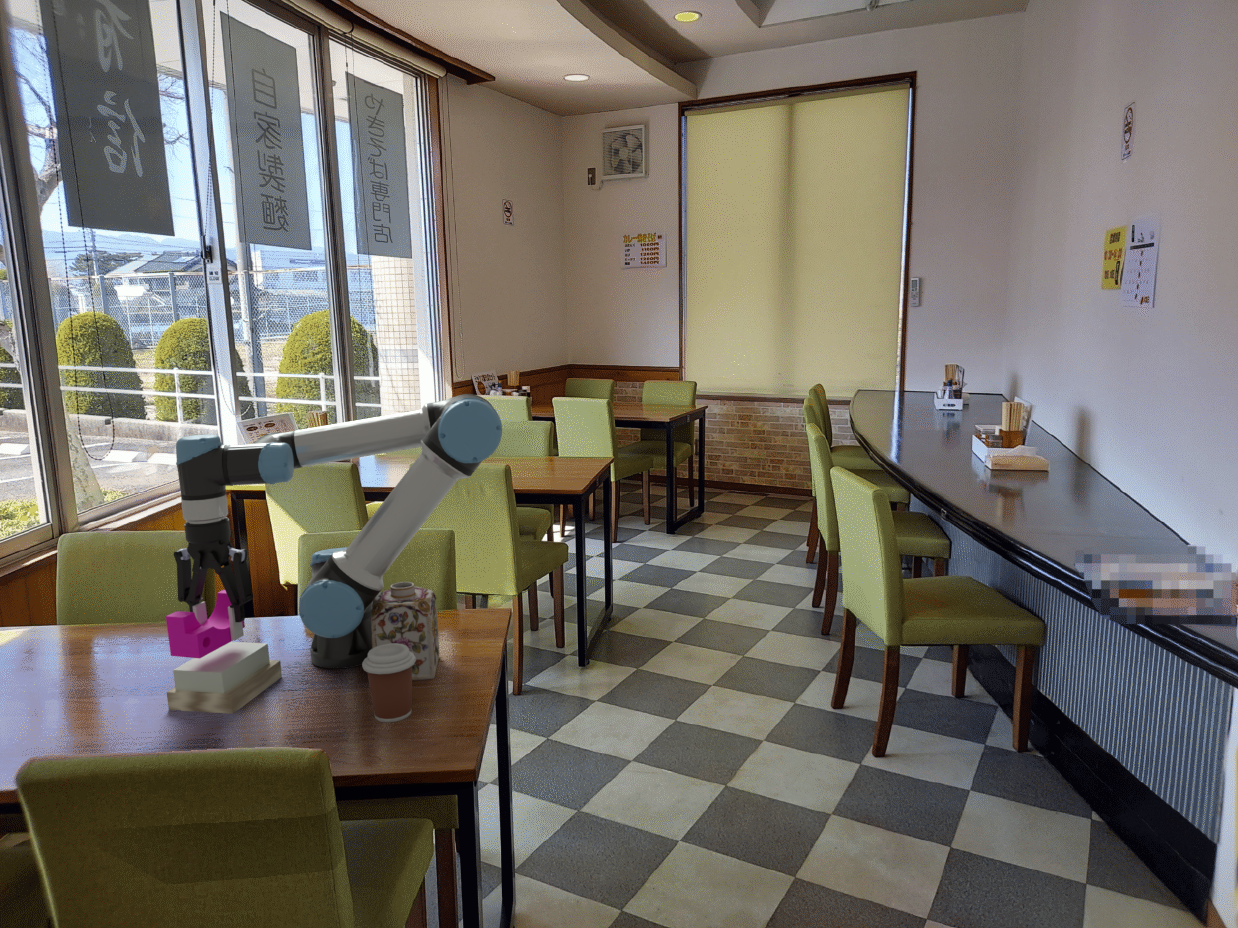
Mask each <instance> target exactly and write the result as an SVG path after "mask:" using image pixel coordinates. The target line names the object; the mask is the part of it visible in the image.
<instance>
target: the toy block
mask: <svg viewBox="0 0 1238 928" xmlns="http://www.w3.org/2000/svg"><path fill="white" fill-rule="evenodd" d="M230 605H232V604H231V602H230V600H229V598H228V595H227V593H226V591H225V589H222V590H220V591H219V592H217V593H216V602H215V606H214V608H213V611H212V613H211V615H210V616H209V618H207V621H206V622H205V623H203V624H202V625H201V624H200V623H199V622H198V621H197V619H196V616H195V613H194V612H190V611H180V610H177V611H174V612H172V613H170V614H168V615H166V616H165V621H166V622H165V623H166V629H167V636H168V644H169V652H170V656H171V657H181V658H191V659H193V658H202V657H204V656H205V655H207V654H209V653H211V652H213V651H215V650H216V649H218V648H220V647H222V646H224V645H226V644H227V643H229V642H232V641H231V632H230V623H229V614H228V607H229V606H230ZM242 624H243V629H245V628H246V625H245V620H243V621H242Z"/></svg>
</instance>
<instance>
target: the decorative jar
mask: <svg viewBox="0 0 1238 928" xmlns="http://www.w3.org/2000/svg"><path fill="white" fill-rule="evenodd" d="M437 598H438V597H436V594H435V592H434V591H433V590H431V589H429V588H426V587H422V586H415V584H414V582H411V581H399V582H396V583H392V584H390V587H389V589H385V590H381V591H380V593H379V594H378V595H377V596H376V598H375V599H374V600H373V605H372V611H371V618H370V620H371V628H372V647H373V648H374V647H377V646H380V645H384V644H391V643H398V644H403V645H406V646H407V647H408V648H409V651H410V652H412V653H413V654H414V655H415V657H416V661H415V663H414V665H412V681H424V680H434V679H435V677H436V672H437V667H438V663H439V658H440V641H439V637H440V636H439V623H438V622H439V621H438V620H439V619H438V610H437V607H438V606H437Z"/></svg>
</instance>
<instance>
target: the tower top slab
mask: <svg viewBox="0 0 1238 928" xmlns="http://www.w3.org/2000/svg"><path fill="white" fill-rule="evenodd" d="M269 653H270V650H269V643H264V642H263V643H262V642H261V643H260V642H245V641H243V642H241V641H231V642H229V643H227V644H226V645H224V646H222V647H220V648H218V649H216V650H215V651H213V652H211V653H209V654H207V655H205V656H204V657H202V658H191V659H189V660H188V661H185V662H184V663H183V664H180V665H179V666H178V667H176V668H174V669H173V670H172V672H173V678H174V687H175V689H176V690H177V691H192V692H207V693H223V694H224V693H226V692H227V691H229V690H230V689H232V688H233V687H235V686H236V685H238V684H239V683H241V682H242V681H243V680H245V679H246V678H248V677H249V676H251V675H252V674H254V673H255V672H257V671H258V670H260V669H261V668H263V667H264V666H266V665H267V664H269V663H270V660H271V659H270V654H269Z"/></svg>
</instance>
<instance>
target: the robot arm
mask: <svg viewBox="0 0 1238 928" xmlns="http://www.w3.org/2000/svg"><path fill="white" fill-rule="evenodd" d="M502 435H503V424H502V420H501V417H500V415H499V413H498V412H497V410H496V409H495V407H494V406H493V405H492V403H490V402H489V400H487V399H486V398H484V397H482V396H479V395H477V394H473V393H472V394H471V393H463V394H460V395H456V396H453V397H450V398H447V399H443V400H439V401H435V402H434V401H433V402H429V403H425V404H424V405H423V407H422V408H420V409H418V410H412V411H405V412H399V413H393V414H387V415H381V416H375V417H370V418H369V417H368V418H363V419H358V420H352V421H351V420H350V421H345V422H339V423H334V424H327V425H321V426H314V427H309V428H303V429H298V430H294V431H285V432H269V433H266V434H264V435H263V436H260V437H259V438H258V439H257V440H255V441H254V442H252V443H247V444H234V445H230V444H229V445H227V444H223V443H222V442H221V437H220V436H219V435H217V434H194V435H188V436H183V437H181V438H179V439H177V441H176V443H175V451H176V454H175V456H176V462H175V465H176V467H177V476H178V484H179V490H180V497H181V498H180V501H181V508H182V519H183V520H184V521H185V523H184V524H183V525H184V534H185V541H186V542H187V543H188V545H187V548H186V547H183V548H180V549H178V550H176V551H174V552H173V557H174V560H175V562H176V576H177V577H176V578H177V579H176V580H177V581H176V582H177V583H176V584H177V585H176V586H177V600H178V602H180V603H183V602H184V603H186V604H187V605H188V607H189V609H188V610H189V612H194V613H195V616H196V619H197V621H198V622H199V623H200V624H201V625H202V624H203V623H205V622H206V621H207V620H208V613H207V604H206V601H203V600H204V597H202V596H203V592H204V587H205V582H206V577H207V573H208V570H209V569H212V570H213V571H214V572H215V574H216V575H218V577H219V579H220V582H221V584H222V586H223V588H224V589H223V590H225V591H226V593H227V595H228V598H229V600H230V602H231V604H232V605H230V606H229V607H228V614H229V623H230V632H231V642H236V641H237V640H239V639H240V638H242V637H244V628H243V624H242V621H243V620H244V621H245V619H246V615H245V604H246V603H247V602H250V601H251V600H253V599H254V593H253V589H252V583H251V578H250V573H249V567H248V563H247V560H248V559H247V558H248V550H247V549H246V548H243V549H236V548H234V546H233V544H232V542H231V534H232V533H231V523H230V518H228V517H227V516H228V515H229V509H228V499H227V497H228V496H227V490H226V487H232V486H246V485H248V486H249V485H268V484H269V485H275V484H280V483H288V482H290V481H291V480H292V479H293V477H294V470H296V469H301V468H305V467H312V466H317V465H318V466H319V465H323V464H329V463H334V462H339V461H341V462H342V461H347V460H351V459H353V460H354V459H357V458H364V457H369V456H375V455H381V454H388V453H393V452H398V451H399V452H400V451H405V450H410V449H418V448H421V452H420V455H419V456H418V457H417V458H416V460H415V461H414V462H413V463H412V465H410V467H409V469H408V470H407V471H406V472H405V474H404V475H403V476H402V478H401V479H400V480H399V482H398V483H397V484H396V485H395V487H394V488H393V489H392V490H391V491H390V493H389V494H388V495H387V496H386V498H385V499H384V501H383V502H382V503H381V504H380V505H379V507H378V508H377V509H376V510H375V512H374V513H373V515H372V516H371V517H370V518H369V520H368V521H367V522H366V523H365V525H364V526H363V527H362V529H361V530H360V531H359V532H358V533H357V535H356V536H355V537H354V539H353V540H352V541H351V543H350V544H349V546H348V547H337V548H328V549H322V550H318V551H315V552H313V554H311V557H310V564H309V565H310V568H311V578H310V579H309V582H308V583H307V585H306V587H305V589H304V590H303V591H302V592H301V595H300V598H299V603H298V605H299V606H298V614H299V618H300V620H301V622H302V623H303V625H304V626H305V628H307V629H308V630H309V632H311V633H312V634H313V638H312V641H311V645H310V661H311V663H312V664H313V665H314V666H317V667H320V668H324V669H346V668H353V667H359V666H362V663H363V661H364V660H365V658H367V657H368V652H369V651H370V650H371V649H373V647H372V628H371V620H370V618H371V611H372V605H373V600H374V599H375V598H376V596H377V595H378V594H379V593H380V592H382V591H383V588H384V580H383V579H384V577H383V576H384V575H385V573H386V572H387V571H388V570H389V569H390V567H391V566H392V565H393V563H394V562H395V560H397V558H398V557H399V555H400V554H401V553H402V552H403V550H404V549H405V548H406V546H408V544H409V543H410V541H411V540H412V539H413V538H414V537H415V535H416V534H417V533H418V532H419V530H420V529H421V527H422V526H423V525H424V523H426V521H427V520H428V519H429V517H431V515H432V513H433V512H434V511H435V510H436V508H437V507H438V506H439V505H440V503H441V502H442V501H443V499H444V498H445V497H446V496H447V494H448V493H449V492H450V491H451V489H452V488H453V487H454V485H455V484H456V483H457V482H458V481H459V480H462V479H468V478H471V476H472V475H473V473H474V472H475V471H476V470H477V469H478V468H479V467H480V465H481V464H482V463H483V461H485V460H486V459H488V458H490V457H491V455H493V454H494V453H495V452H496V450H497V449H498V447H499V445H500V444H501V439H502ZM191 559H192V560H193V565H192V560H191ZM231 561H232V562H231ZM232 568H233V569H232Z"/></svg>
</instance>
